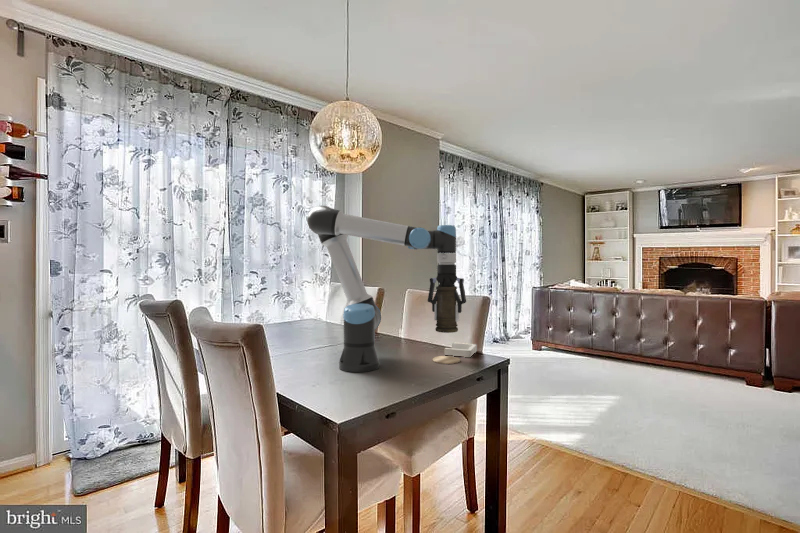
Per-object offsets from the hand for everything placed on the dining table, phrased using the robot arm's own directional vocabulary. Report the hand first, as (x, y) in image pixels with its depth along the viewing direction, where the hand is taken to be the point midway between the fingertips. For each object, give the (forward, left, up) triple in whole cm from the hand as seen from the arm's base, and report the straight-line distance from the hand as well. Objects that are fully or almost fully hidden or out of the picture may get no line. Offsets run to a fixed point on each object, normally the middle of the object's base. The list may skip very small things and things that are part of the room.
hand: (446, 320), depth 169 cm
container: (0, 0, -4) cm, 4 cm away
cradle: (+2, +15, -16) cm, 22 cm away
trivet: (0, 0, -16) cm, 16 cm away
